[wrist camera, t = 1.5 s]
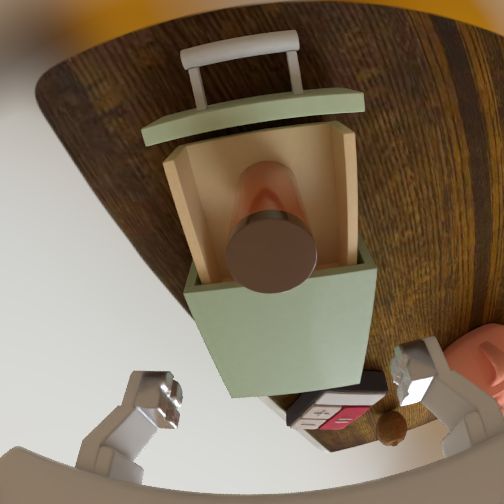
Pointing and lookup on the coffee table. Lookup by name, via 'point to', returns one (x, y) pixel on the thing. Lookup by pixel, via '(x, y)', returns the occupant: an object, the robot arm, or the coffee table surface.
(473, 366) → the teapot
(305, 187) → the drawer
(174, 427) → the robot arm
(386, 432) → the fruit
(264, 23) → the coffee table surface
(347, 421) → the calculator
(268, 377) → the cabinet
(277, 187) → the spice jar
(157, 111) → the coffee table surface
